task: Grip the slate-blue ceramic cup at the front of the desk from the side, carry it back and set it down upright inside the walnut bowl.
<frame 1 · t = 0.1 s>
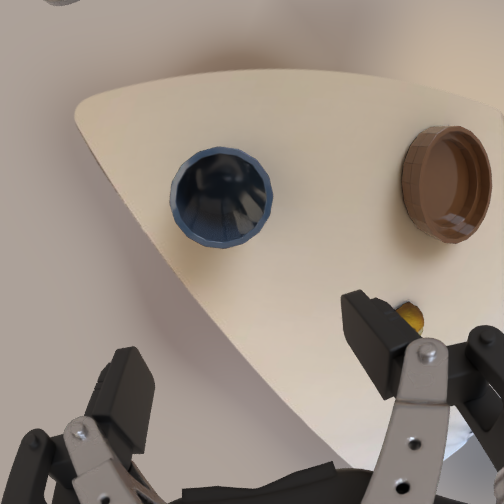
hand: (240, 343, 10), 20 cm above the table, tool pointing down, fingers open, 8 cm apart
fruit: (397, 329, 37), on the table
cup: (219, 184, 28), on the table
bowl: (440, 181, 31), on the table
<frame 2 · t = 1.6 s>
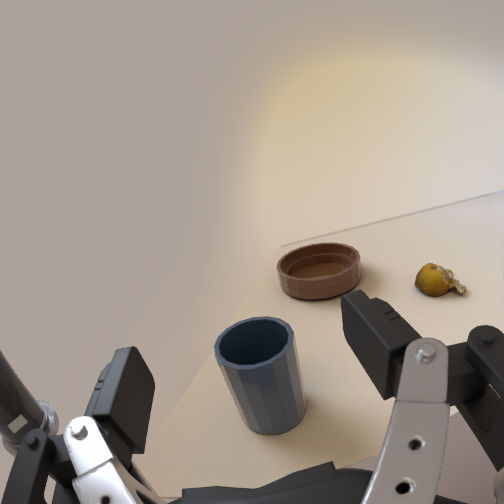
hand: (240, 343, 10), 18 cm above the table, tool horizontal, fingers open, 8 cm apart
fruit: (443, 288, 38), on the table
cup: (273, 409, 27), on the table
bowl: (320, 279, 50), on the table
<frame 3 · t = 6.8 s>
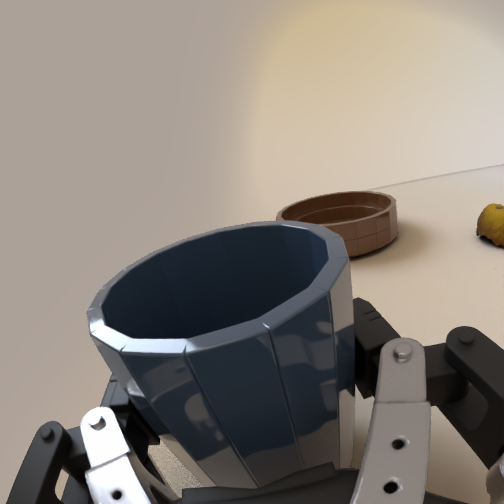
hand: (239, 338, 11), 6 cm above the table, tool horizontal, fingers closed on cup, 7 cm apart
cup: (277, 458, 11), on the table, touching gripper
bowl: (340, 237, 34), on the table
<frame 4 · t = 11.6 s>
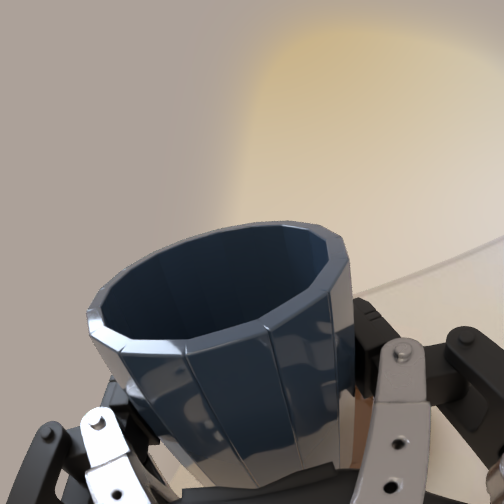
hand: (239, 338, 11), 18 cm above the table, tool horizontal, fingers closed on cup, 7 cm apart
cup: (277, 459, 11), point 12 cm above the table, touching gripper
bowl: (323, 429, 23), on the table
when the fingers open (7 cm above the table, at t = 16.6 s): cup stays where it is, resting on bowl.
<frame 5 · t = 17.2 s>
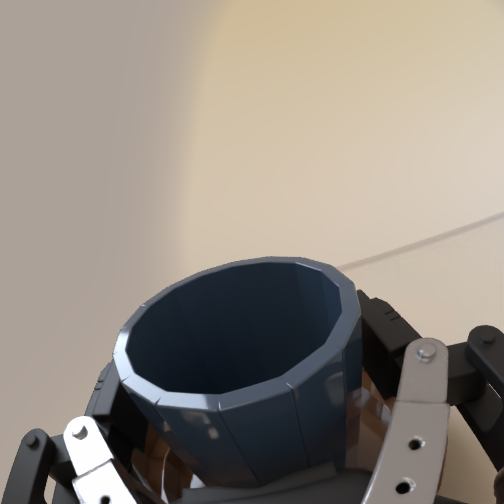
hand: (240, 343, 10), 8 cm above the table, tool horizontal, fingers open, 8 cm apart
cup: (286, 470, 11), point 1 cm above the table, touching bowl
bowl: (285, 473, 11), on the table
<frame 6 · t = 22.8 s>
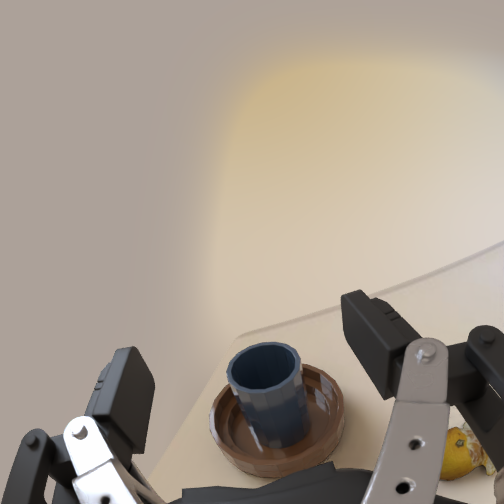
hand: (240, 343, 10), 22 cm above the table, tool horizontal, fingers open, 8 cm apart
fruit: (466, 457, 16), on the table
cup: (281, 424, 28), point 1 cm above the table, touching bowl
bowl: (280, 427, 28), on the table
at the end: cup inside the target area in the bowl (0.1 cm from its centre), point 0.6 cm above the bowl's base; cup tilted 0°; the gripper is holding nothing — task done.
